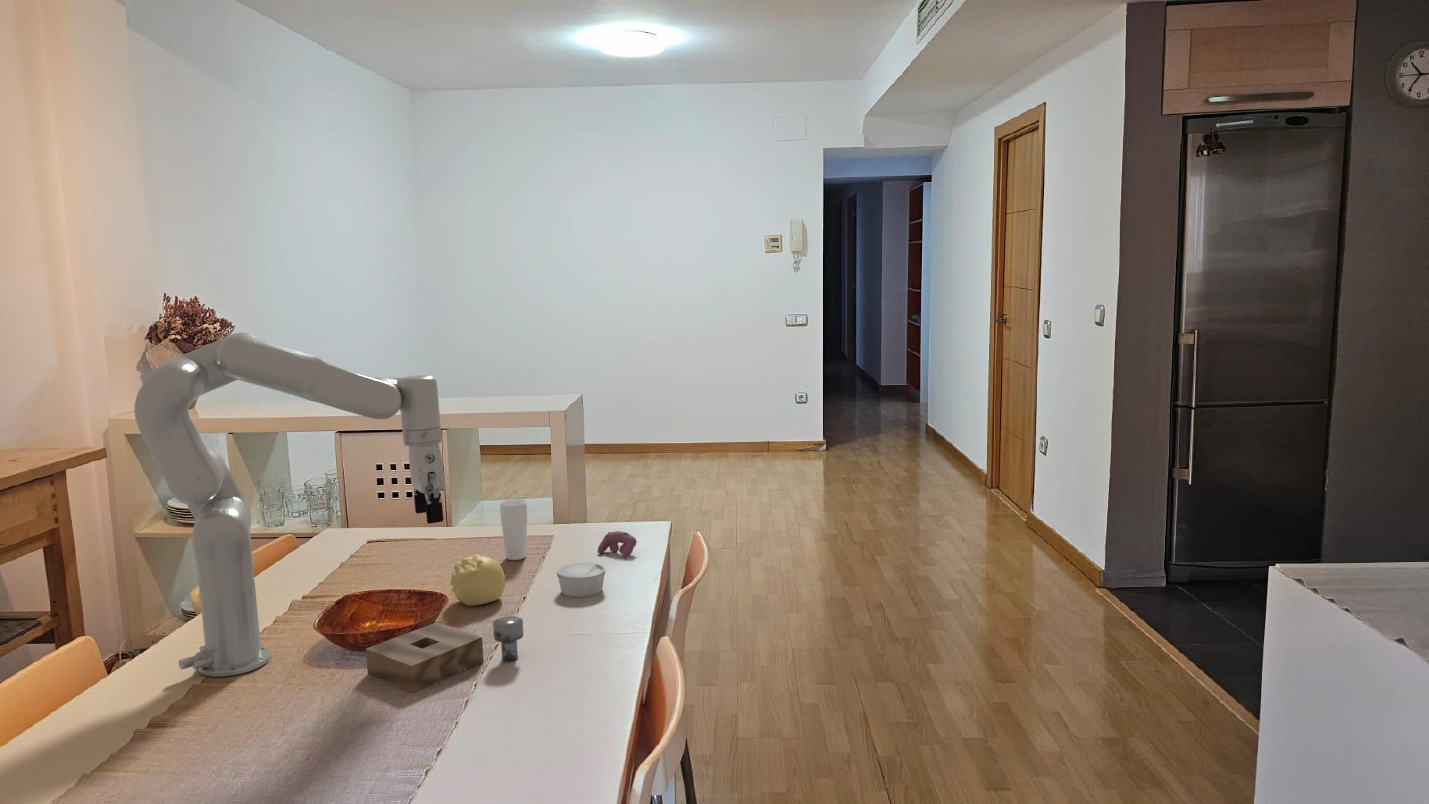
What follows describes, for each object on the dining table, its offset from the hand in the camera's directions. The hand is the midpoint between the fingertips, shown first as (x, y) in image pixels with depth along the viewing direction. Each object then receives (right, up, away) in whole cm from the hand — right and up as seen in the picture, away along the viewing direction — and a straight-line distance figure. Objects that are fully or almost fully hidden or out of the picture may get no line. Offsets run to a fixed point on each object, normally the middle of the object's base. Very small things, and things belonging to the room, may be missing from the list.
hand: (429, 517), depth 196 cm
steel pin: (+19, -26, -12) cm, 35 cm away
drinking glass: (+7, -17, +53) cm, 56 cm away
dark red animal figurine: (+33, -17, +55) cm, 66 cm away
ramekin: (+28, -21, +26) cm, 44 cm away
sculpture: (+5, -22, +21) cm, 31 cm away
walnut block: (+4, -27, -16) cm, 31 cm away
